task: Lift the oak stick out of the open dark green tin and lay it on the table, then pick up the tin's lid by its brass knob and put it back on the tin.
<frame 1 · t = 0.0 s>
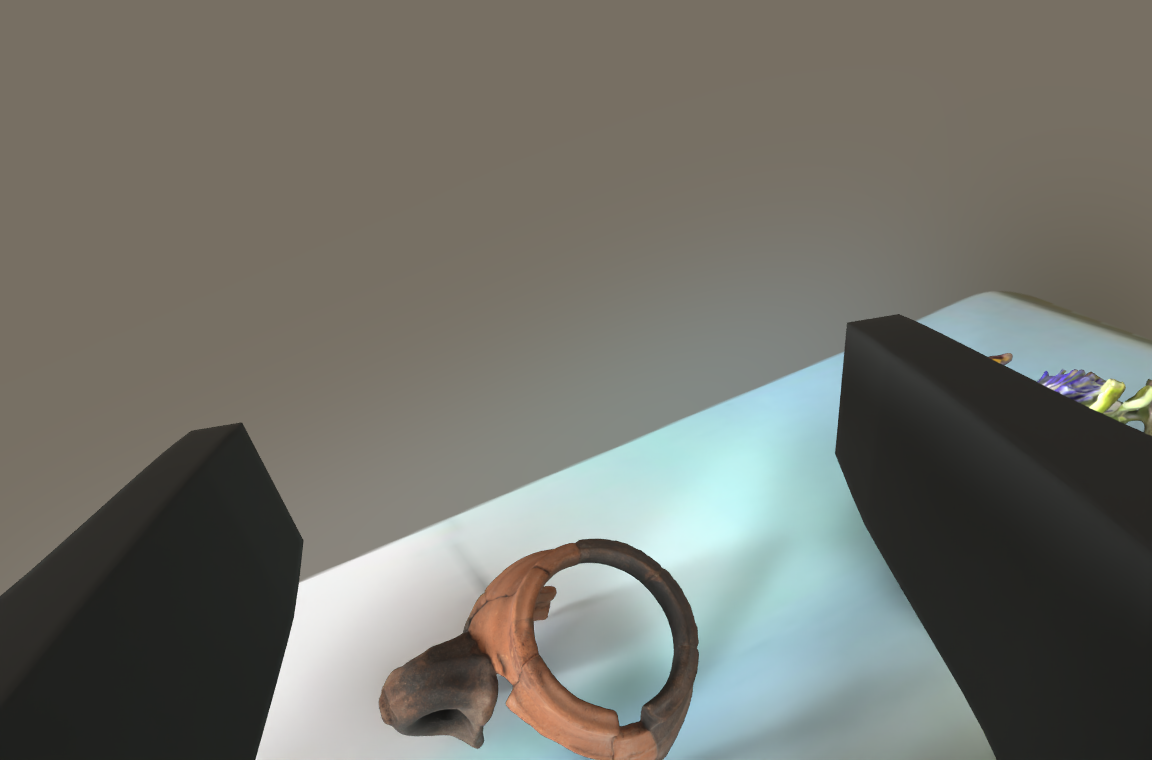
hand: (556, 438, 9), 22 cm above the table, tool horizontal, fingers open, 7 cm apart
pottery mug: (552, 713, 30), on the table
passion flower: (1021, 559, 34), on the table
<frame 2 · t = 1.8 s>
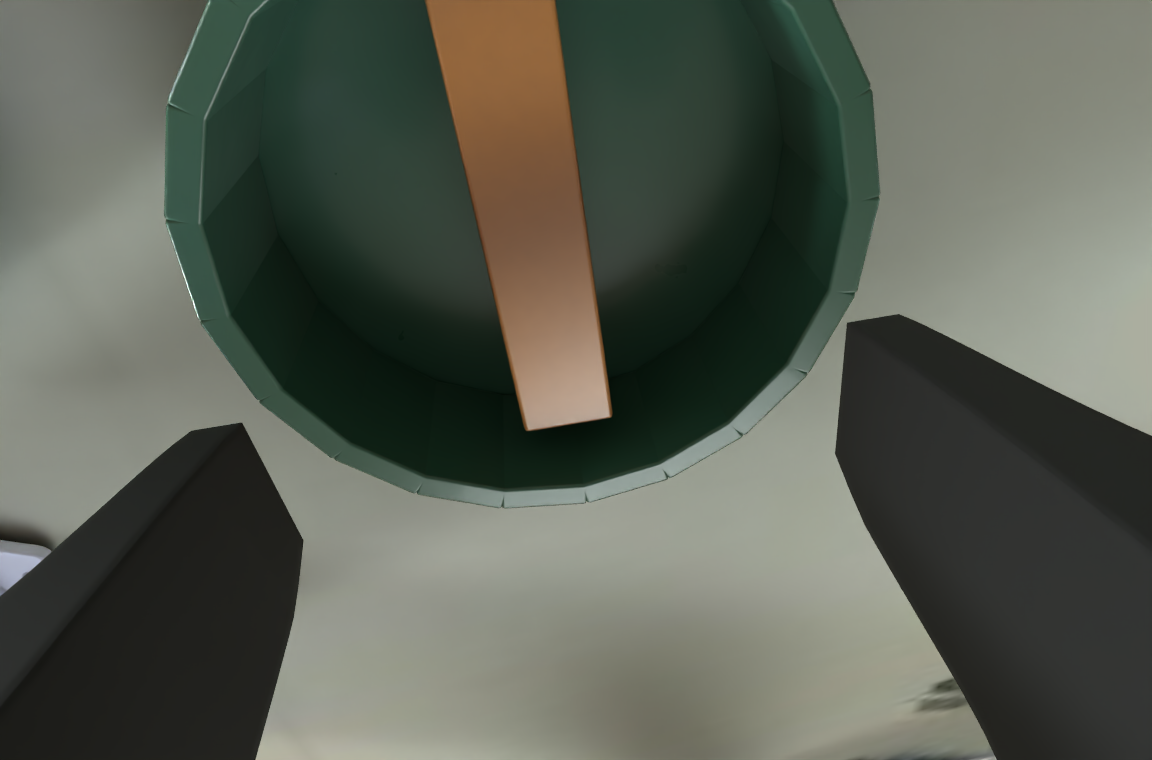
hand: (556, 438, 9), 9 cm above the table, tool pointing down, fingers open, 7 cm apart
stick: (529, 187, 16), resting on tin
tin: (528, 180, 16), on the table
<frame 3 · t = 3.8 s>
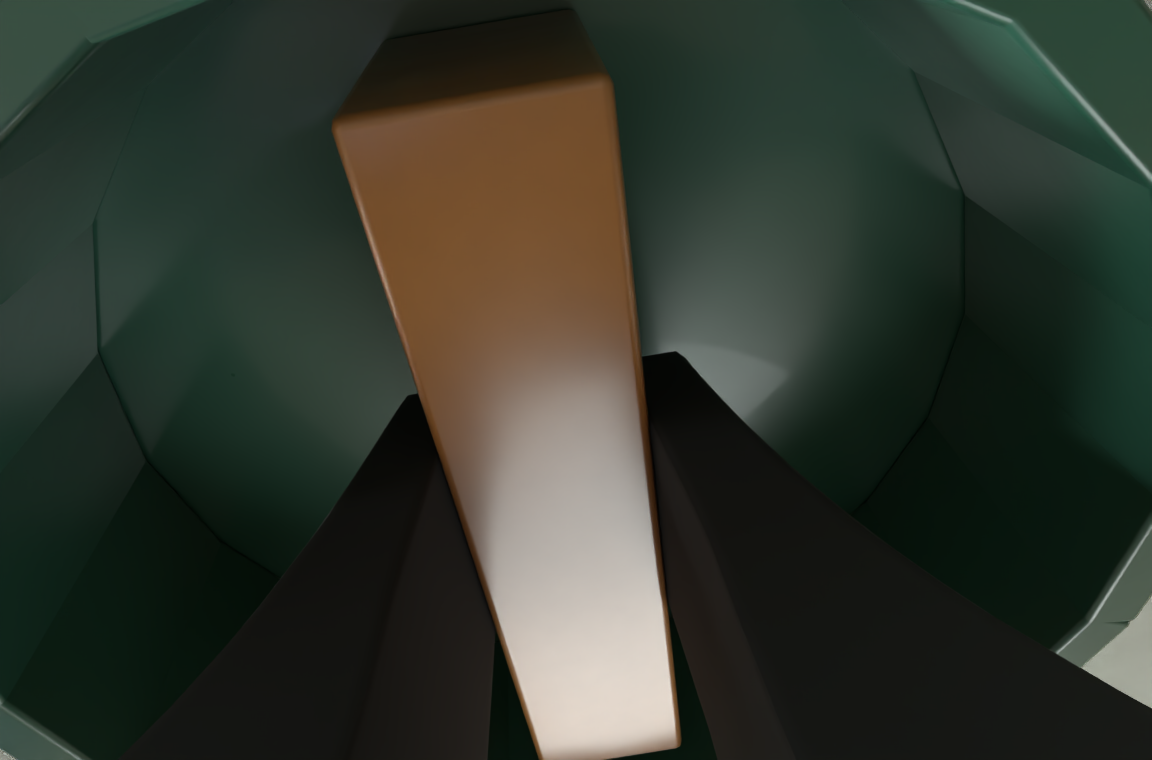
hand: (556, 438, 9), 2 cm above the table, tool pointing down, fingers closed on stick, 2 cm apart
stick: (549, 386, 10), resting on tin, touching gripper
tin: (549, 369, 10), on the table
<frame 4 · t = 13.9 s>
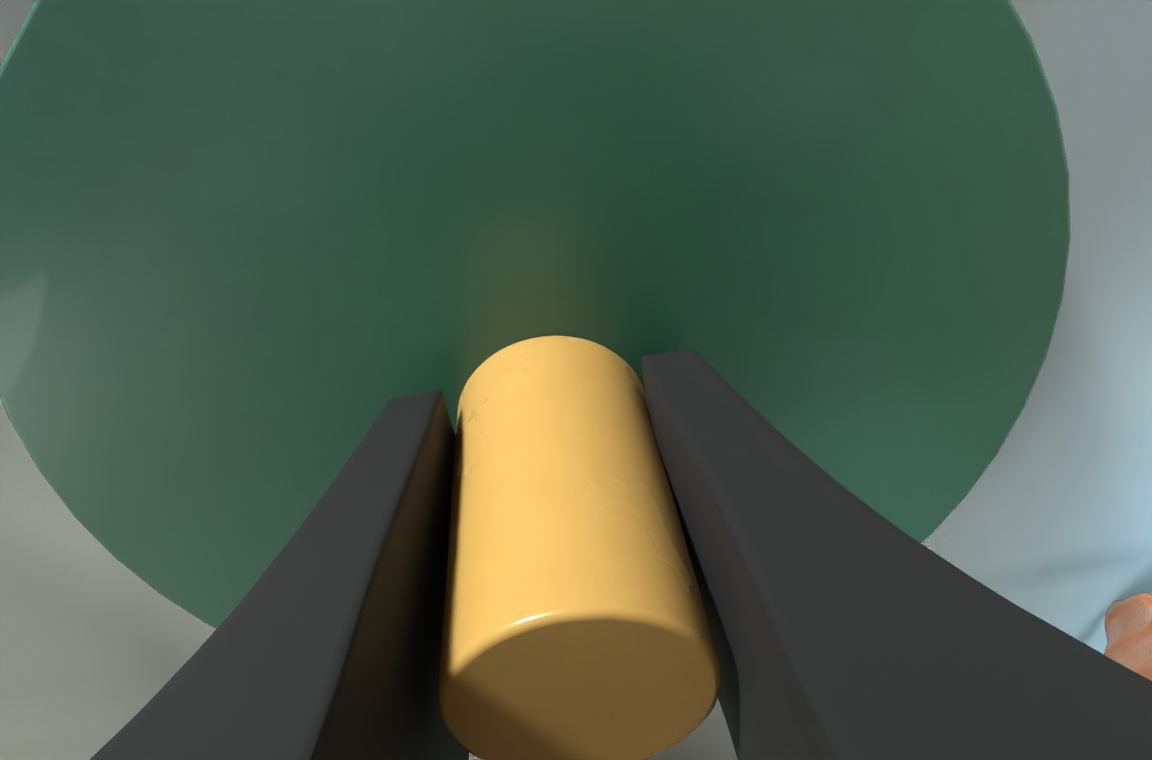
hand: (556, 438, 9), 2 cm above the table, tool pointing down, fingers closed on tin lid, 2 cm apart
tin lid: (550, 390, 10), point 1 cm above the table, touching gripper
when the fingers open (5 cm above the table, at t = 18.4 s): tin lid stays where it is, resting on tin.
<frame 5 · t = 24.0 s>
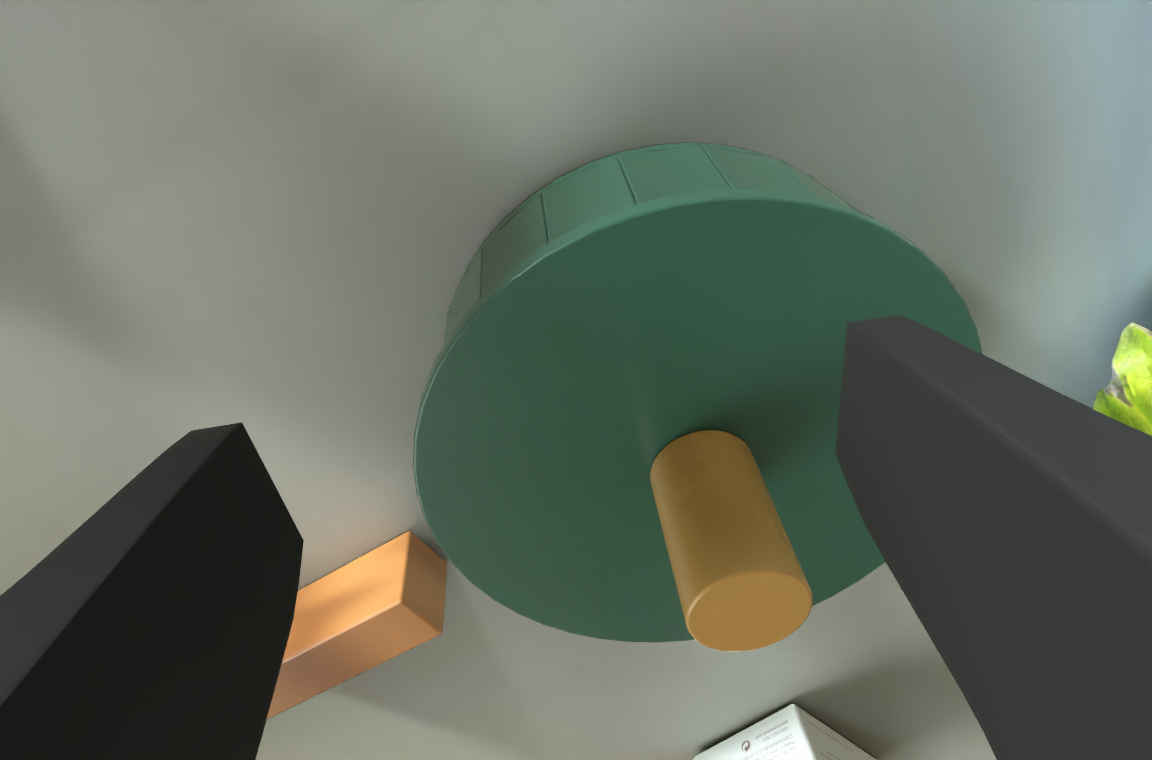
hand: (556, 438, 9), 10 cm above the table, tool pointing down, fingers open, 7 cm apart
tin lid: (696, 454, 17), point 4 cm above the table, touching tin
small box: (787, 751, 34), on the table
stick: (324, 601, 25), on the table
tin: (665, 360, 21), on the table
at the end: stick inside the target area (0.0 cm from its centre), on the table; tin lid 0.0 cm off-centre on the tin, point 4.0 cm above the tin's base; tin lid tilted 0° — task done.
